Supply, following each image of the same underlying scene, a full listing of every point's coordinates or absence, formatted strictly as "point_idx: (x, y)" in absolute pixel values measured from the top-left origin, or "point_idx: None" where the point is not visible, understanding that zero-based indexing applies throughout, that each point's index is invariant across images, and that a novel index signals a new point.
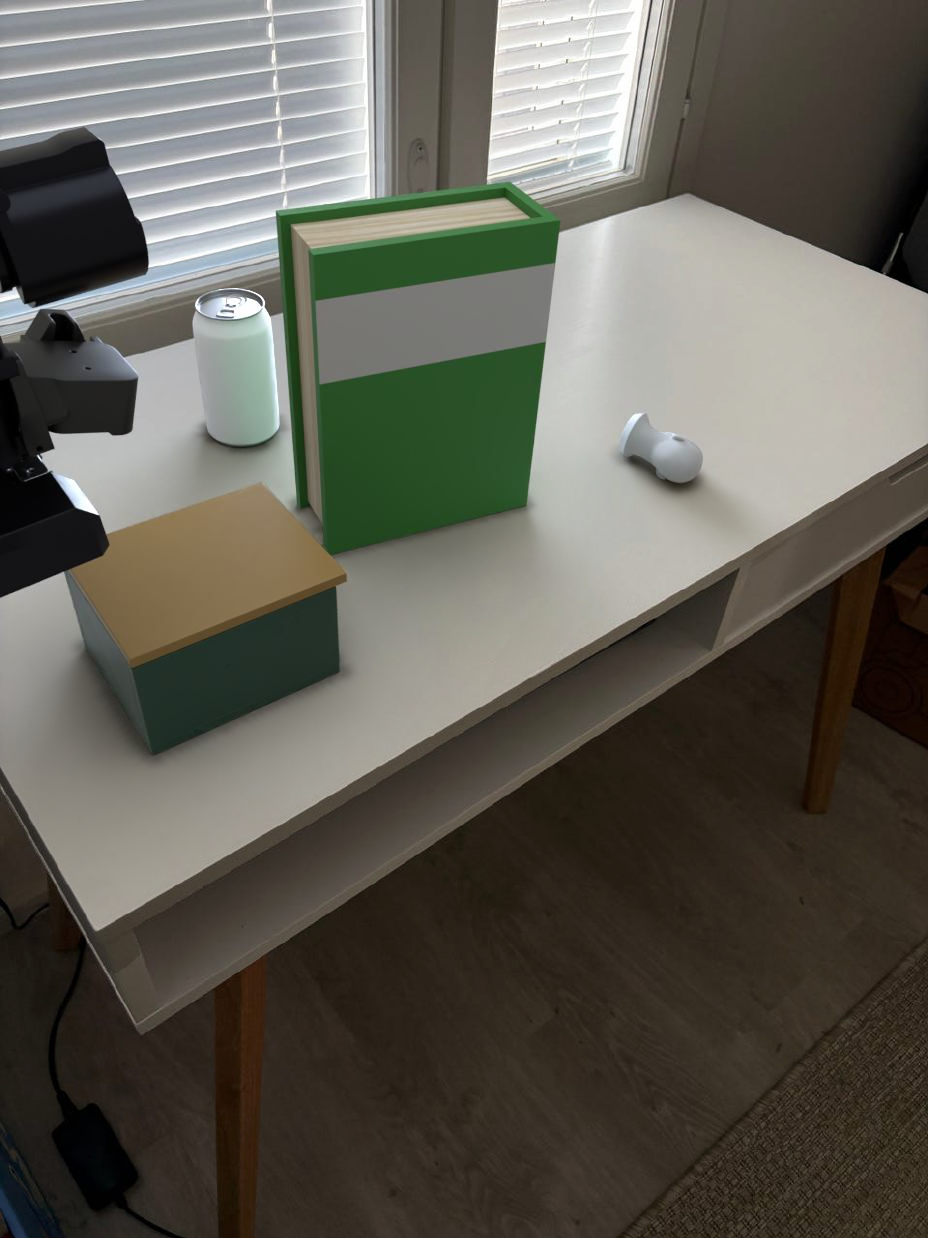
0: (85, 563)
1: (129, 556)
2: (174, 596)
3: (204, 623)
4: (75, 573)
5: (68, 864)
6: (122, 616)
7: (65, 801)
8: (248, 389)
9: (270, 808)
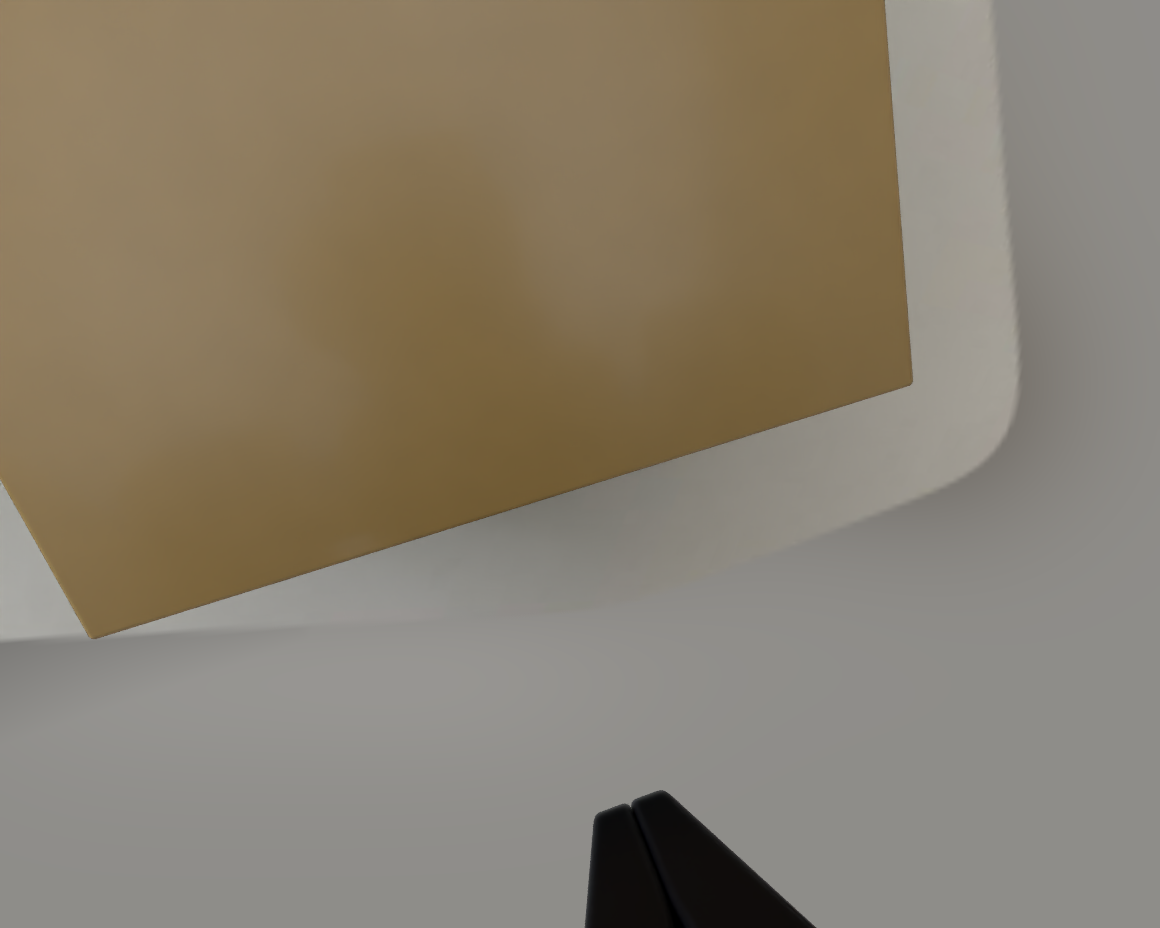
0: (232, 521)
1: (214, 303)
2: (616, 124)
3: (855, 19)
4: (309, 566)
5: (889, 503)
6: (668, 386)
7: (745, 506)
8: None
9: (956, 56)
